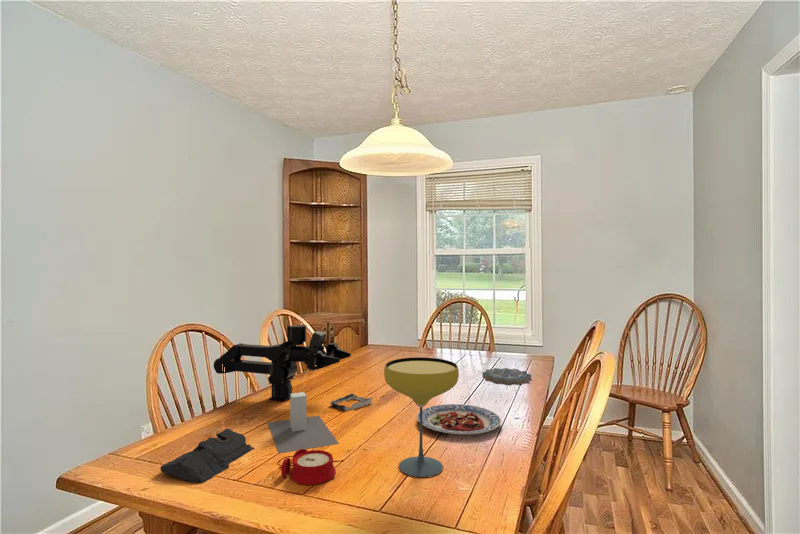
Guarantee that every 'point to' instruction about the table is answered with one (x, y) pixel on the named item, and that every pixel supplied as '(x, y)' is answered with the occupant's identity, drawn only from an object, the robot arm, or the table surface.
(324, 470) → the alarm clock
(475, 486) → the table surface
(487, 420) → the ceramic plate
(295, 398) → the painted block
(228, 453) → the dark slate chunk
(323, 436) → the rubber mat
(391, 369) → the cocktail glass
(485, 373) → the decorative tile
